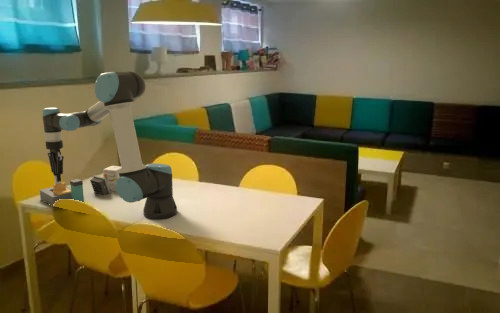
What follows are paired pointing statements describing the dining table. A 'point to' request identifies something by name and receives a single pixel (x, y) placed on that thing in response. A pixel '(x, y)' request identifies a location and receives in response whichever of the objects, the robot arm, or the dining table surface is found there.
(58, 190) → the panel
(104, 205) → the dining table surface
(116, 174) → the ink box
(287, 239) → the dining table surface
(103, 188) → the electrical switch
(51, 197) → the socket
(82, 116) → the robot arm
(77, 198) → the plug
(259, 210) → the dining table surface
